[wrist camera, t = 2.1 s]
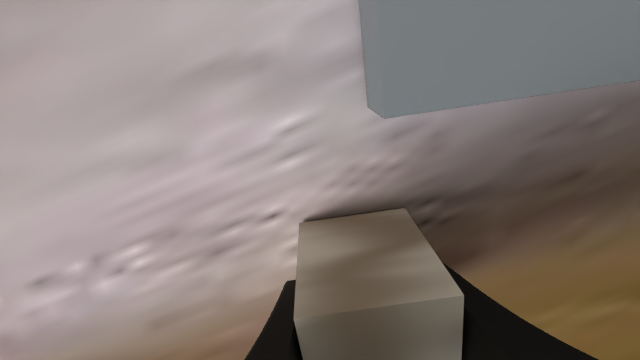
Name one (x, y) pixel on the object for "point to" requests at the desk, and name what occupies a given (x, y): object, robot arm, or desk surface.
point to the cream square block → (374, 291)
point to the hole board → (492, 50)
